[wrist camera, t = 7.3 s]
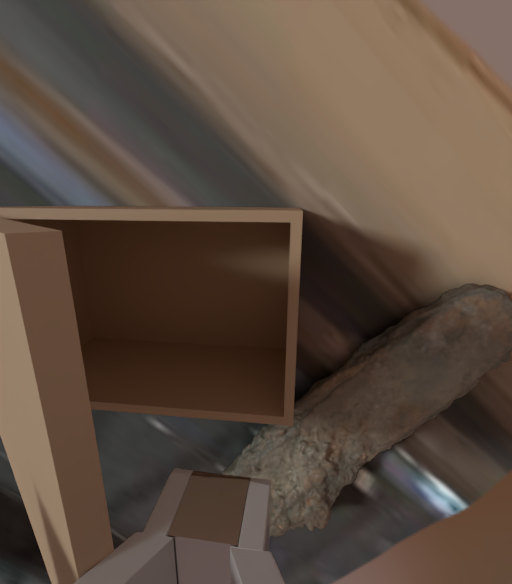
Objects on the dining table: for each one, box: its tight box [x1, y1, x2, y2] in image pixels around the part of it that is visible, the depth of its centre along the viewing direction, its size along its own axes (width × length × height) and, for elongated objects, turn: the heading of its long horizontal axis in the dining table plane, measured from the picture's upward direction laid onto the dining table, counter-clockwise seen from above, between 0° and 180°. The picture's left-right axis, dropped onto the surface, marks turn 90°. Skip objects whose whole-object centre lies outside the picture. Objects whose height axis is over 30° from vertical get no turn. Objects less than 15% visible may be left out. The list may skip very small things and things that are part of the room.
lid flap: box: [0, 218, 114, 584], centre depth 12 cm, size 13×20×1 cm
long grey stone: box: [222, 284, 512, 537], centre depth 29 cm, size 35×5×10 cm
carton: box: [0, 206, 303, 426], centre depth 23 cm, size 13×20×10 cm, turn 90°
